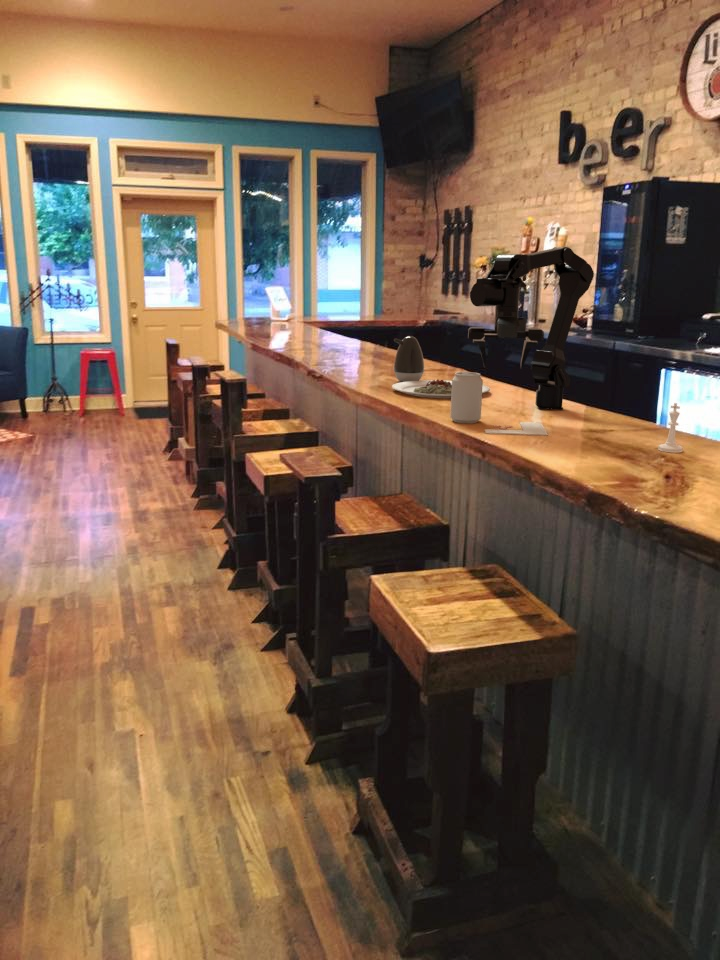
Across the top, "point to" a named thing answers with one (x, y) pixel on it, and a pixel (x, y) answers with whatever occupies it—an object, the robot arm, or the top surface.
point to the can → (466, 397)
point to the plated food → (429, 388)
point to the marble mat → (527, 428)
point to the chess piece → (672, 433)
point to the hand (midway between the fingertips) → (503, 368)
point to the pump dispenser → (408, 360)
